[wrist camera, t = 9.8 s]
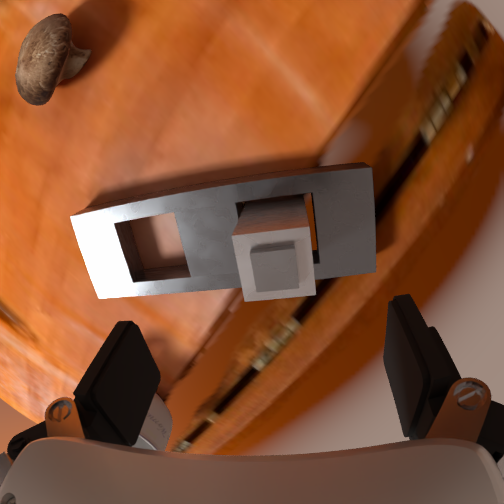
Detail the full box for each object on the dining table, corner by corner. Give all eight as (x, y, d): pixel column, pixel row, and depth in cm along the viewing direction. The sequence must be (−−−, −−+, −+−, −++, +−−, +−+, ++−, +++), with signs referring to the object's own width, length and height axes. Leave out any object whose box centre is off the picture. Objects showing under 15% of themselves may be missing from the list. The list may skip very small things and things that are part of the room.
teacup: (178, 430, 39) (164, 476, 31) (107, 408, 39) (86, 449, 32) (179, 363, 33) (156, 419, 26) (91, 338, 33) (58, 384, 26)
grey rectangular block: (247, 198, 25) (229, 239, 17) (302, 191, 24) (310, 230, 16) (256, 248, 26) (243, 307, 19) (308, 242, 26) (316, 300, 18)
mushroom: (108, 47, 18) (27, 43, 13) (77, 122, 23) (10, 127, 19) (96, 5, 19) (32, 0, 15) (68, 71, 24) (12, 71, 20)
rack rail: (110, 285, 30) (99, 298, 27) (85, 208, 26) (70, 216, 24) (368, 258, 26) (375, 272, 23) (363, 162, 23) (371, 167, 20)
